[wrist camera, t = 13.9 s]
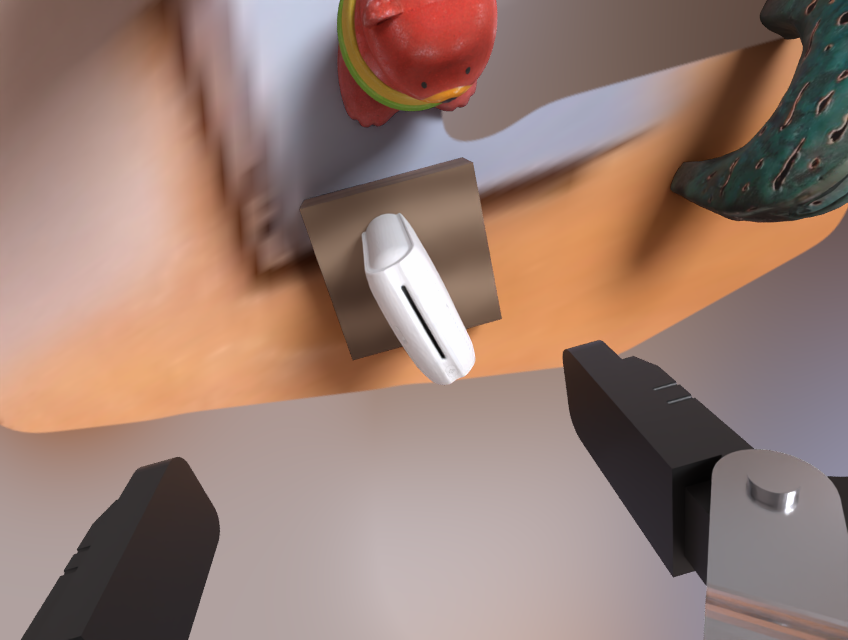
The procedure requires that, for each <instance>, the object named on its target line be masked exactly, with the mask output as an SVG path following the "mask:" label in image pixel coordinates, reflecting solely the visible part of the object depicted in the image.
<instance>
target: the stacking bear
mask: <svg viewBox="0 0 848 640" xmlns="http://www.w3.org/2000/svg"><path fill="white" fill-rule="evenodd" d="M496 5H497V4H496V0H340V3H339V8H338V15H337V33H338V41H339V45H338V58H337V64H338V79H339V86H340V91H341V96H342V99H343V103H344V106H345V109H346V111H347V113H348V115H349V117H350V118H351V119H353V120H358V121H359V123H360V125H361V126H363V127H369V126H371V125H375V126H381V125H383V124H385V123H386V122H387V121H388V120H389V119H390V118H391V117H392V116H393V115H394V114H395V113H396V112H398V111H400V110H402V111H420V110H426V109H430V108H433V107H436V108H438V109H440V110H443V111H453V110H454V109H456V108H457V107H464V106H466V105H467V103H468V101H469V98H470V96H472V95H473V94H474V93H475V90H476V84H477V79H478V78H479V76H480V75H481V73H482V72H483V70H484V68H485V66H486V65H487V63H488V60H489V57H490V55H491V52H492V49H493V45H494V41H495V36H496V31H497V29H496V28H497V6H496Z"/></svg>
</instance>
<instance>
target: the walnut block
mask: <svg viewBox="0 0 848 640" xmlns="http://www.w3.org/2000/svg"><path fill="white" fill-rule="evenodd" d="M299 210H300V212H301V215H302V218H303V221H304V224H305V227H306V229H307V232H308V235H309V238H310V241H311V244H312V246H313V249H314V252H315V255H316V258H317V261H318V263H319V266H320V269H321V272H322V275H323V277H324V280H325V283H326V286H327V289H328V292H329V294H330V297H331V300H332V303H333V306H334V309H335V311H336V314H337V317H338V320H339V323H340V325H341V328H342V331H343V334H344V337H345V340H346V342H347V345H348V348H349V351H350V354H351V357H352V359H353V360H356V359H359V358H363V357H366V356H370V355H374V354H377V353H381V352H384V351H388V350H392V349H395V348H399V347H402V344H401V343H400V341H399V340H398V338H397V337H396V335H395V333H394V331H393V330H392V328H391V327H390V325H389V323H388V321H387V320H386V318H385V316H384V314H383V313H382V311H381V309H380V307H379V305H378V303H377V301H376V299H375V298H374V296H373V294H372V292H371V289H370V287H369V283H368V280H367V277H366V274H365V266H364V255H363V244H362V233H363V232H366V230H367V227H368V225H369V224H370V222H371V221H372V220H373V219H375V218H376V217H378V216H380V215H383V214H395V215H396V214H398V213H401V214H402V215H403V216H404V217H405V219H406V220H407V221H408V222H409V224H410V225H411V227H412V228H413V230H414V232H415V233H416V235H417V237H418V238H419V240H420V242H421V243H422V245H423V247H424V249H425V250H426V252H427V254H428V255H429V257H430V259H431V261H432V263H433V264H434V266H435V268H436V270H437V272H438V274H439V276H440V278H441V279H442V281H443V283H444V285H445V287H446V289H447V291H448V293H449V295H450V297H451V300H452V302H453V304H454V306H455V308H456V310H457V312H458V314H459V316H460V318H461V321H462V323H463V325H464V327H465V329H467V328H471V327H474V326H478V325H482V324H485V323H489V322H493V321H496V320H500V319H502V317H501V312H500V306H499V301H498V296H497V290H496V285H495V279H494V274H493V269H492V263H491V258H490V252H489V247H488V242H487V236H486V231H485V225H484V220H483V215H482V209H481V204H480V198H479V193H478V187H477V182H476V177H475V171H474V166H473V162H471V161H469V160H467V159H465V158H463V157H462V158H458V159H454V160H451V161H447V162H443V163H440V164H436V165H432V166H428V167H425V168H421V169H417V170H414V171H410V172H406V173H402V174H399V175H395V176H391V177H388V178H384V179H380V180H377V181H373V182H369V183H365V184H362V185H358V186H354V187H351V188H347V189H343V190H339V191H336V192H332V193H328V194H325V195H321V196H317V197H313V198H310V199H306V200H304V201H303V203H302V205H301V207H300V209H299Z"/></svg>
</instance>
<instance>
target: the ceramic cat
mask: <svg viewBox="0 0 848 640" xmlns="http://www.w3.org/2000/svg"><path fill="white" fill-rule="evenodd" d="M760 20H761V22H762V24H763V25H764V26H765V27H766V28H767V29H769V30H771V31H772V32H775V33H777V34H779V35H781V36H782V37H784V39H796V38H800V39H801V42H802V45H803V51H802V55H801V58H800V60H799V63H798V66H797V68H796V71H795V74H794V77H793V79H792V82H791V84H790V86H789V88H788V90H787V92H786V93H785V95H784V96H783V98H782V100H781V102H780V103H779V105H778V107H777V109H776V110H775V112H774V113H773V115H772V116H771V118H770V119H769V120H768V121H767V122H766V124H765V125H764V126H763V127H762V128H761V129H760V131H759V132H758V133H757V134H756V135H755V136H754V137H753V138H752V139H751V140H750V141H749V142H748V143H747V144H746V145H745V146H743V147H742V148H740V149H738V150H737V151H734V152H731V153H729V154H726V155H724V156H722V157H718V158H714V159H710V160H705V161H699V162H698V161H693V162H684V163H683V164H682V165H681V167H680V168H679V169H678V171H677V172H676V174H675V176H674V179H673V181H672V184H671V191H673V192H674V193H676V194H679V195H681V196H683V197H684V198H686V199H688V200H689V201H691V202H693V203H695V204H697V205H699V206H701V207H703V208H706V209H708V210H710V211H712V212H714V213H717V214H719V215H721V216H723V217H725V218H728V219H731V220H735V221H752V222H782V221H794V220H799V219H803V218H808V217H814V216H818V215H822V214H825V213H827V212H830V211H832V210H835V209H837V208H839V207H841V206H843V205H844V204H846V203H848V0H767V1H766V3H765V5H764V7H763V9H762V11H761V13H760Z"/></svg>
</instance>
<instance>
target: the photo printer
mask: <svg viewBox="0 0 848 640" xmlns="http://www.w3.org/2000/svg"><path fill="white" fill-rule="evenodd" d="M362 244H363V255H364V266H365V274H366V277H367V280H368V283H369V287H370V289H371V292H372V294H373V296H374V298H375V299H376V301H377V303H378V305H379V307H380V309H381V311H382V313H383V314H384V316H385V318H386V320H387V321H388V323H389V325H390V327H391V328H392V330H393V331H394V333H395V335H396V337H397V338H398V340H399V341H400V343H401V344H402V346H403V347H404V349H405V351H406V352H407V353H408V355H409V356H410V358H411V359H412V361H413V362H414V363H415V365H416V366H417V367H418V368H419V369H420V370H421V371H422V373H423V374H424V375H425V376H427V377H428V378H429V379H430V380H431V381H433V382H434V383H437V384H441V385H448V384H451V383H452V382H453V381H455V380H456V379H458V378H461V377H464V376H465V375H467V374H468V372H469V371H470V370H471V368H472V367H473V365H474V362H475V353H474V348H473V345H472V342H471V339H470V337H469V335H468V333H467V331H466V329H465V327H464V325H463V323H462V321H461V318H460V316H459V314H458V312H457V310H456V308H455V306H454V304H453V302H452V300H451V297H450V295H449V293H448V291H447V289H446V287H445V285H444V283H443V281H442V279H441V278H440V276H439V274H438V272H437V270H436V268H435V266H434V264H433V263H432V261H431V259H430V257H429V255H428V254H427V252H426V250H425V249H424V247H423V245H422V243H421V242H420V240H419V238H418V237H417V235H416V233H415V232H414V230H413V228H412V227H411V225H410V224H409V222H408V221H407V220H406V219H405V217H404V216H403V215H402V214H401V213H398V214H396V215H395V214H383V215H380V216H378V217H376V218H375V219H373V220H372V221H371V222H370V224H369V225H368V227H367V230H366V232H363V233H362Z"/></svg>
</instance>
